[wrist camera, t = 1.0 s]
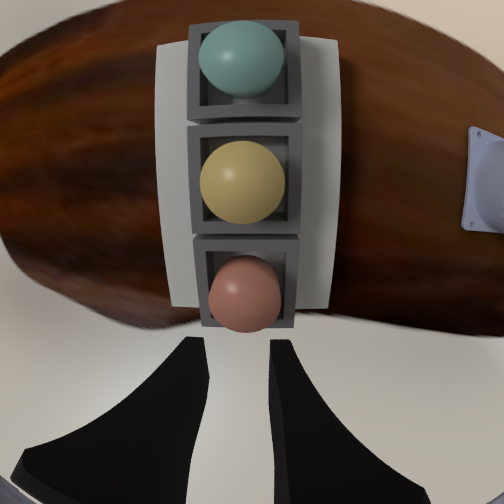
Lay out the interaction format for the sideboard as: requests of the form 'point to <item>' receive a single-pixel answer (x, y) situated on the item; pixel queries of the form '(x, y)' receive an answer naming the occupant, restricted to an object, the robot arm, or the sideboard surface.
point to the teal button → (241, 59)
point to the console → (271, 137)
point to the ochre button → (242, 182)
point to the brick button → (245, 294)
